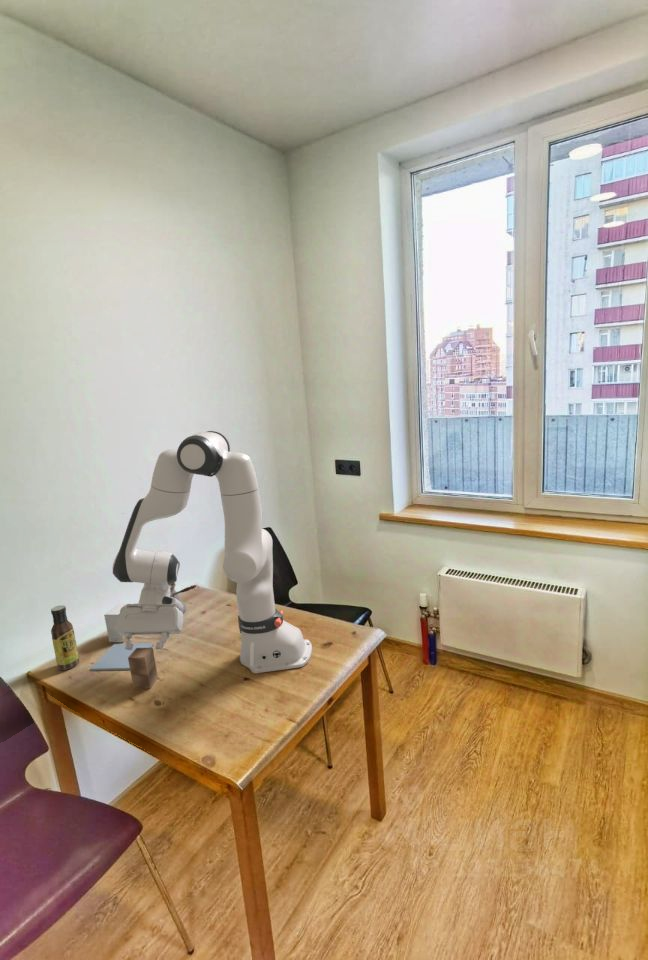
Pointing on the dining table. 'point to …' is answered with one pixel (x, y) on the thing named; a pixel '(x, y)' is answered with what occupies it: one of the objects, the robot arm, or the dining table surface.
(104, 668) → the slate board
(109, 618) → the small box
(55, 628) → the sauce bottle
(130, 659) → the walnut block
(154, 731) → the dining table surface
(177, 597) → the coffee pot
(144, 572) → the robot arm
